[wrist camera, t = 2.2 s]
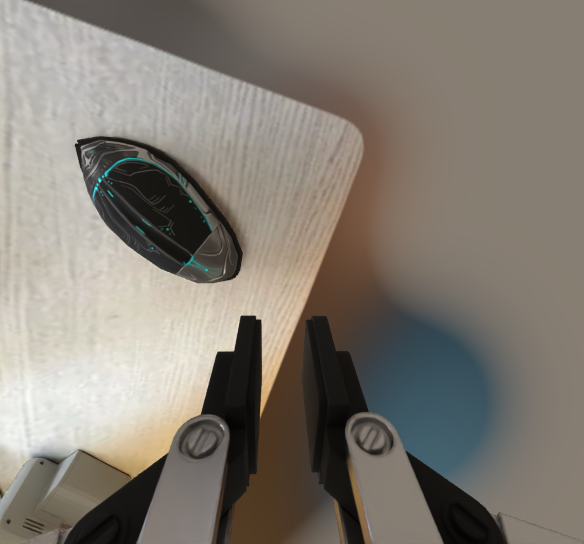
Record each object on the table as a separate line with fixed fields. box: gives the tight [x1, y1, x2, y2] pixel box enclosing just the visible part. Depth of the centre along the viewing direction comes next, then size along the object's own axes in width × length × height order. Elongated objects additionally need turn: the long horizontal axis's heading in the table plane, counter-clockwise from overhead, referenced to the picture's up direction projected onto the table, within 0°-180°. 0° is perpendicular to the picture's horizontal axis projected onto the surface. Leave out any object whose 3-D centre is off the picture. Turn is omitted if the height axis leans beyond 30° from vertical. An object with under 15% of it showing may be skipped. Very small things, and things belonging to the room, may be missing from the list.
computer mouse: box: [75, 136, 243, 283], centre depth 25 cm, size 9×17×6 cm, turn 46°
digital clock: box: [0, 450, 130, 544], centre depth 39 cm, size 16×9×11 cm, turn 27°
